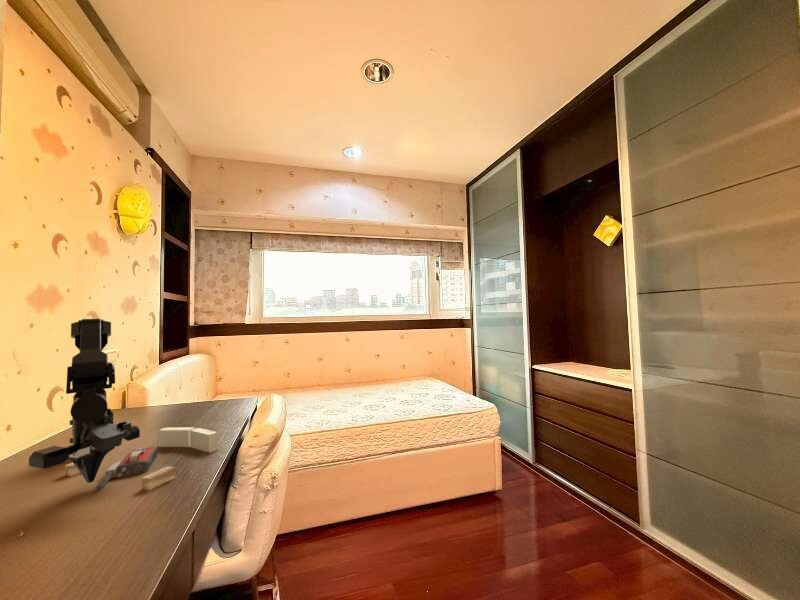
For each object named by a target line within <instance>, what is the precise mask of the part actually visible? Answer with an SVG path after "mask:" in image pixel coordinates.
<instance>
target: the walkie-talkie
mask: <svg viewBox="0 0 800 600" xmlns="http://www.w3.org/2000/svg"><path fill="white" fill-rule="evenodd" d="M155 458H156V459H157V458H158V448H157V447H155V446H149V447H141V448H136V449H133V450H132V451H130V452H128V453H127V454H126V455H125V457H124V458H123V459H122V460H120V461H117V462H114V463H113V464H111V465H110V466H109V467H108V468H107V469H106V470H105V471H104V475H105V476H104V478H103V479H102V480H101V481H100V482H99V484H98V485H96V490H102V489H103V487H104V486H105V485H106V484H107V483H108V482H109V480H110V479H111V478H112V479H113V478H122V477H125V476H132V475H138V474H141V473H140V472H142V473H145V472H144V471H147V472H148V471H149V470H150V469H151V467H152V465H153V464H154V462H155V461H156V459H155ZM152 463H153V464H152ZM150 466H151V467H150ZM149 468H150V469H149ZM135 473H136V474H135ZM131 474H132V475H131Z"/></svg>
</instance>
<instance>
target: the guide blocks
mask: <svg viewBox="0 0 800 600" xmlns="http://www.w3.org/2000/svg"><path fill="white" fill-rule="evenodd" d="M79 474H81V472H80V471H79V469H78V468H77V466H76V465H75V464H74V463H73V462H71V463H68V464H65V465H64V476H67V477H73V476H77V475H79ZM174 479H176V466H175V467H174V466H169V465H167V466H166V467H163V468H161V469H158V470H156V471H153V472H152V473H149V474H148V475H145V476H142V477H141V489H142V490H146V491H152V490H153V488H154V489H155V487H156V488H157V486H158V487H159V486H162V485H163V484H166V483H168V482H170V481H171V480H174ZM165 482H166V483H165Z"/></svg>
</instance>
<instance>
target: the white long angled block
mask: <svg viewBox="0 0 800 600" xmlns="http://www.w3.org/2000/svg"><path fill="white" fill-rule="evenodd" d="M218 439H219V437H218V431H214V430H209V429H205V428H201V427H197V428H195V427H192V426H191V427H183V426H182V427H181V426H180V427H163V428H160V429H158V448H189V447H190V448H192V449H196V450H198V451H199V450H200V451H202V452H206V453H213V452H215V451H217V450H219V449H218Z"/></svg>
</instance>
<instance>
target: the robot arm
mask: <svg viewBox="0 0 800 600" xmlns="http://www.w3.org/2000/svg"><path fill="white" fill-rule="evenodd" d="M111 336H112V322H111V321H108V320H104V319H101V318H82V319H79V320H78V321H75V322H72V323H70V337H71V339H74V346H75V348H77V349H78V350H79V352H78V353H77V354H75V355H73V356H72V358H71V359H72V360H71V366H67V369H66V386H65V387H66V389H65V394H66V395H68V394H74V395H73V396H72V399H73V400H72V404H71V408H70V416H71V418H72V419H70V420H69V426H71V428H72V436H73V437H71V438H69V444H72V445H68V446H58V445H53V446H49V447H46V448H42V449H39V450H35V451H33V452H32V453H31V455H30V456H29V458H28V467H32V468H37V469H43V470H44V469H49V468H52V467H55V466H58V465H61V464H65V463H66V461H71V463H74V464H75V465H76V466H77V468H78V469H79V471H80V472H81V473H80V474H81V476H82V477H83V479H84V480H85V482H86V483H88V484H89V483H92V482H94V481H95V479H96V477H97V473H98V471H99V469H100V467H101V464H102V462H103V460H104V458H105V457H106V455H107V454H108V453H110V452H111V451H113V450H115V448H116V447H119V446H122V442H123V440H125V441H127V442H129V441H132V440H137V439H138V438H140V437H141V429H140V427H138V426H137V425H132V422H131V421H129V420H124V421H122V422H118V423H114V411H112V410H111V408H109V407H108V401H107V390H106V389H112V388H113V385H115V384H116V370H115V367H116V366H114V365H113V363H112V362H108V357H109V356H108V354H107V353H105V352H104V351H103V350H104V348H105V347H106V346H107V345H108V343H109V339H108V338H109V337H111ZM71 387H72V388H71Z"/></svg>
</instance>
